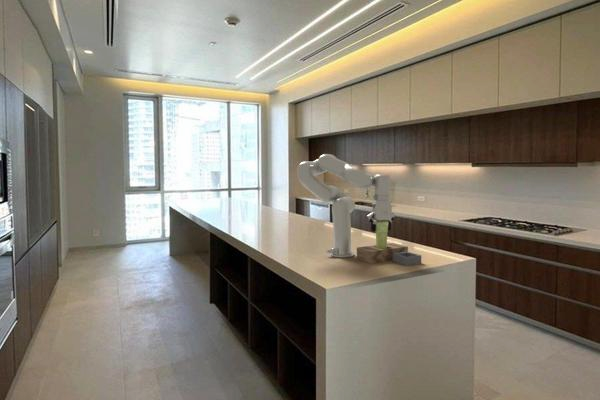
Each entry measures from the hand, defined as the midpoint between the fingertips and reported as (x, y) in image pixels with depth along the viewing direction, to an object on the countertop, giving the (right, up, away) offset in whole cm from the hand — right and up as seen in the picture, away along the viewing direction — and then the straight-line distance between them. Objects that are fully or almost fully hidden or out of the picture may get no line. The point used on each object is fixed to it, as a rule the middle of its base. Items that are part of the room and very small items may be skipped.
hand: (380, 230), depth 197 cm
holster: (+11, -15, -9) cm, 21 cm away
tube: (+1, -15, +1) cm, 15 cm away
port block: (+1, -15, +1) cm, 15 cm away
